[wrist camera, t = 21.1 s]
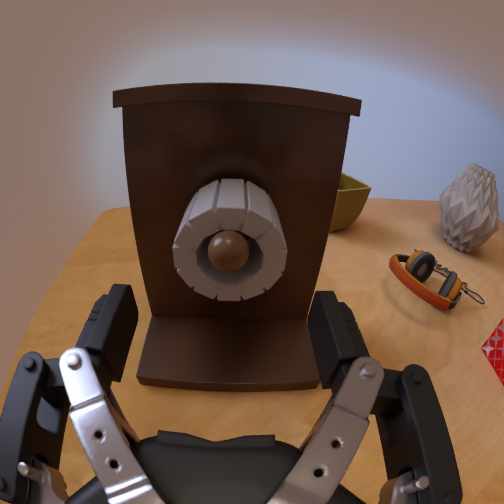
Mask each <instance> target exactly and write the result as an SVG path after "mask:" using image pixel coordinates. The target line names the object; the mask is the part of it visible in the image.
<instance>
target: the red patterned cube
mask: <svg viewBox="0 0 504 504" xmlns="http://www.w3.org/2000/svg"><path fill="white" fill-rule="evenodd" d="M481 349H482V350H483V352H484V353H485V355H486V357H487V358H488V360H489V361H490V363H491V365H492V366H493V368H494V370H495V371H496V373H497V375H498V376H499V378H500V380H501V382H502V384H503V385H504V318H503V319H502V321H501V322H500V323H499V325H498V326H497V328H496V329H495V330H494V332H493V333H492V334H491V336H490V337H489V338H488V340H487V341H486V342H485V344H484V345H483V346H482V347H481Z"/></svg>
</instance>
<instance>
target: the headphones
mask: <svg viewBox="0 0 504 504" xmlns="http://www.w3.org/2000/svg"><path fill="white" fill-rule="evenodd" d="M415 251H416V252H415V253H413V254H412V255H411V256H407V255H401V254H396V255H395V256H394V255H393V256H392V257H391V259H390V262H389V267H390V269H391V271H392V272H393V274H394V275H395V276H396V277H397V278H398V279H399V280H400V281H401V282H402V283H403V284H404V285H405V286H406V287H407V288H408V289H410V290H411V291H412V292H413V293H415V294H416V295H417V296H419V297H420V298H421V299H423V300H424V301H426V302H428V303H429V304H431V305H433V306H435V307H437V308H439V309H442V310H447V309H453V308H454V307H455V305H456V304H457V302H458V301H459V299H460V296H461V294H462V293H461V292H460V290H461V289H462V290H463V291H464V292H465V293H466V294H468V295H469V296H470V297H471V298H473V299H474V300H475V301H477V302H478V303H480V304H485V302H484V300H483V298H482V297H481V296H480V295H479V294H477V293H475V292H473V291H471V290H469V289H468V288H467V287H466V285H467V283H465V282H462V281H461V280H460V279H459V278H457V273H455V272H454V271H452V272H451V271H446V270H448V269H447V268H438V267H442V266H441V265H440V264H438V265H437V261H436V260H435V257H434V256H433V255H432V254H431V253H429V252H424V251H417V250H416V249H415ZM400 262H406V265H405V269H404V267H403V266H402V265H401V264H400ZM435 262H436V263H435ZM435 265H436V268H437V269H439V270H443V269H445V270H444V271H445V272H448V273H450V274H449V275H448V277H447V276H446V275H444V274H442V273H441V272H439V271H437V270H435V269H434V266H435ZM433 270H434V271H436V272H438V273H440V274H441V275H443V276H445V277H446V280H445V282H444V283H443V285H442V287H441V289H440V290H439V292H438V294H437V293H435V292H434V291H432V290H430V289H429V288H427V287H426V286H425V285H423V284H422V282H424V281H425V280H426V279H428V277H429V276H430V275H431V273H432V272H433ZM462 284H466V285H465V288H466V289H467V290H468V291H470V292H472V293H474V294H476V295H478V296H479V297H480V298H481V299H482V301H483V303H481V302H479V301H478V300H476V299H475V298H474V297H472V296H471V295H470V294H469V293H468V291H466V290H464V289H463V288H462Z"/></svg>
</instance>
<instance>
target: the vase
mask: <svg viewBox="0 0 504 504" xmlns="http://www.w3.org/2000/svg"><path fill="white" fill-rule="evenodd" d="M494 178H495V174H493V173H492V172H490V171H488V170H487V169H484V168H482V167H480V166H478V165H477V164H474V163H470V165H469V167H467V168H466V169H465V171H464V172H462V173H460V174H459V176H458V177H457V178H456V179H455V181H454V182H453V183H452V184H451V185H450V186H449V187H448V188H447V189H446V190H445V191H444V192H443V193H442V194H441V195H440V209H441V226H442V228H443V229H444V230H443V235H444V237H443V238H444V239H445V240H447V243H449V244H451V245H452V246H453V247H454V248H458V249H459V250H460V251H461V252H463V251H465V252H466V253H469V252H473V250H474V249H475V248H478V247H480V246H481V245H483V244H484V243H485V242H487V240H488V239H489V238H490V237H491V236H492V235H493V234H494V233H495V232H497V231H498V230H499V213H498V193H497V189H496V181H495V180H494Z"/></svg>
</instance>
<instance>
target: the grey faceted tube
mask: <svg viewBox="0 0 504 504" xmlns="http://www.w3.org/2000/svg"><path fill="white" fill-rule="evenodd" d="M220 230H229V231H241V232H242V233H244V234H246V235H248V236H250V237H251V238H250V239H249V240H247V243H248V247H249V256H248V259H247V261H246V263H245V264H244V265H243V266H242V267H241V268H240V269H238V270H236V271H233V272H224V271H221V270H219V269H217V268H216V267H214V266H213V265H212V263H211V262H210V260H209V257H208V246H209V243H210V241H211V239H212V237H211V236H210V235H212V234H214V233H216V232H218V231H220ZM286 247H287V245H286V242H285V238H284V234H283V231H282V227H281V224H280V220H279V217H278V213H277V210H276V208H275V206H274V204H273V202H272V200H271V198H270V196H269V195H268V194H267V195H266V191H264V190H263V189H261V188H260V187H258V186H256V185H255V184H253V183H251V182H250V181H247V182H246V183H245V185H244V180H243V179H222V180H221V184H220V182H219V180H216V181H214V182H212V183H210V184H208V185H206V186H204V187H202V188H200V189H199V192H196V193H195V195H194V197H193V198H192V200H191V202H190V203H189V205H188V207H187V209H186V211H185V214H184V216H183V219H182V222H181V224H180V227H179V229H178V232H177V235H176V237H175V240H174V245H173V257H174V265H175V268H178V269H177V273H178V274H179V275H180V276H181V278H182V279H183V280H184V281H185V282H186V284H187V285H188V286H189V287H190V288H191V287H193V286H194V291H196V292H198V293H200V294H202V295H205V296H207V297H209V298H211V299H214V298H215V297H216V295H217V299H218V300H219V301H240V297H241V296H242V298H243V299H244V300H246V299H249V298H251V297H254V296H257V295H259V294H262V293H264V288H265V289H267V290H269V289H270V288H271V287H272V286H273V284H274V283H275V282H276V281H277V280H278V279H279V278H280V277H281V276H282V271H284V269H285V263H286V257H287V248H286Z"/></svg>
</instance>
